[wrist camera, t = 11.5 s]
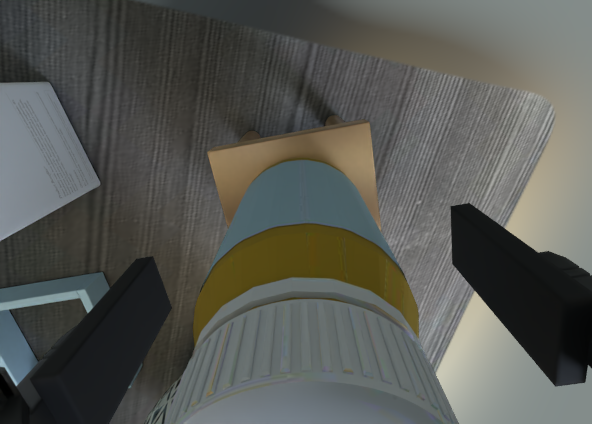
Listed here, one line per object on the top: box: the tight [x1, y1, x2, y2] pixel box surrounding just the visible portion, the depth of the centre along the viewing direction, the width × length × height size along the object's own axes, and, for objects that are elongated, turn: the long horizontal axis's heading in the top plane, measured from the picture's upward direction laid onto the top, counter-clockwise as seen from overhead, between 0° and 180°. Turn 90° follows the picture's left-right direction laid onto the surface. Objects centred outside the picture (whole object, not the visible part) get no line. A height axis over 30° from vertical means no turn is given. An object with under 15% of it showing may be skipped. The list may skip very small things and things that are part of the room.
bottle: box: [164, 158, 459, 424], centre depth 14 cm, size 7×7×15 cm
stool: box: [207, 115, 381, 231], centre depth 25 cm, size 9×9×10 cm
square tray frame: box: [0, 272, 143, 388], centre depth 34 cm, size 12×12×3 cm
